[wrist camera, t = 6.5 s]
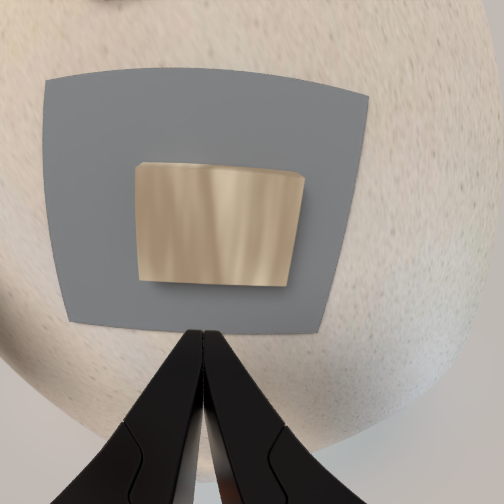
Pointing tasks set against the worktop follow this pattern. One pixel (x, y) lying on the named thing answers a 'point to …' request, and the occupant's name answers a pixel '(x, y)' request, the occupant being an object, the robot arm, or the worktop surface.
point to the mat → (195, 152)
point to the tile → (215, 223)
